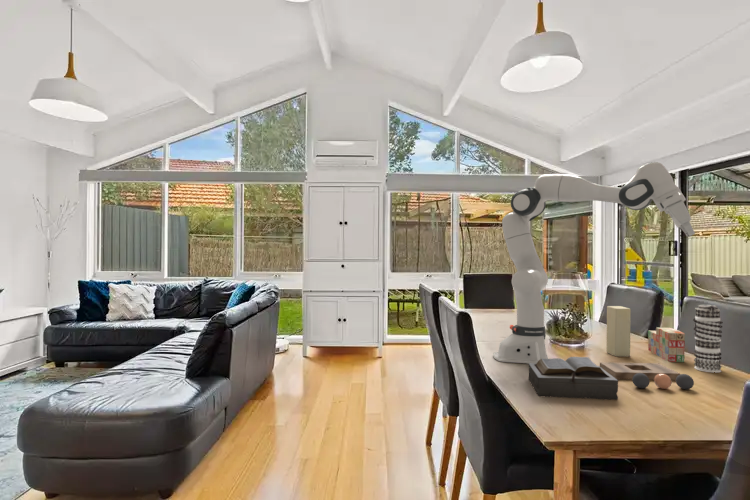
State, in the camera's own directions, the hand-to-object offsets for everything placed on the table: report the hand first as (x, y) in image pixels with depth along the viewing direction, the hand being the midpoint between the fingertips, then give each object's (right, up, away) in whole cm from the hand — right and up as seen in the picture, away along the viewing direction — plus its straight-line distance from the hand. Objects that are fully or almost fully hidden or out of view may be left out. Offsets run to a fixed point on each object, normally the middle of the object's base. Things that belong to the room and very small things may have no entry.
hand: (691, 235), depth 159 cm
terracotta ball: (-15, -49, -8) cm, 52 cm away
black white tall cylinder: (+17, -52, +15) cm, 56 cm away
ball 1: (-22, -49, -7) cm, 55 cm away
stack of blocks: (+15, -52, +37) cm, 66 cm away
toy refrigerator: (-4, -52, +40) cm, 66 cm away
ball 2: (-8, -49, -9) cm, 51 cm away
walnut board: (-14, -52, +9) cm, 54 cm away
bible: (-47, -52, -8) cm, 71 cm away
